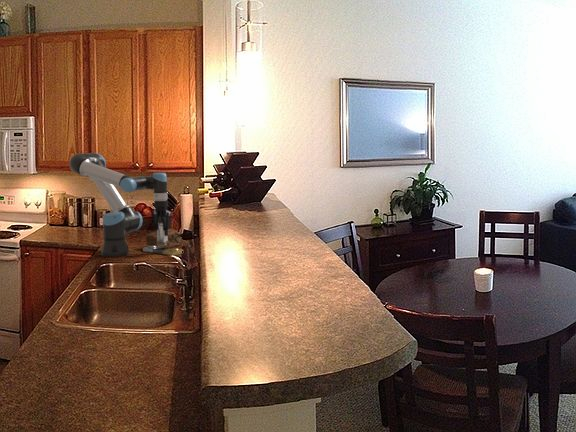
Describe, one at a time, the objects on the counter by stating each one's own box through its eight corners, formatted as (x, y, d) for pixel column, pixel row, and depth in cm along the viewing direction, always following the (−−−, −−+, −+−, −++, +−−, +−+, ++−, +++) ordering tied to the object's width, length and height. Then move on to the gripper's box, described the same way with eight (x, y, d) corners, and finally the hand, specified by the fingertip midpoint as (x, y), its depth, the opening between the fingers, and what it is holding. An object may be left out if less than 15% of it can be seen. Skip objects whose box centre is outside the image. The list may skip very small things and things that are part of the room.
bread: (170, 243, 340) (169, 227, 339) (181, 245, 333) (181, 229, 332) (145, 248, 326) (145, 231, 324) (157, 250, 319) (156, 233, 318)
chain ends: (143, 251, 315) (142, 246, 314) (153, 249, 321) (153, 244, 321) (173, 255, 302) (173, 250, 301) (183, 253, 308) (183, 248, 308)
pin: (156, 244, 310) (155, 223, 309) (162, 243, 314) (161, 222, 312) (162, 245, 308) (161, 224, 306) (168, 243, 312) (167, 223, 310)
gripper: (145, 200, 309) (147, 240, 312) (166, 201, 300) (168, 243, 303) (155, 198, 315) (156, 238, 318) (176, 200, 306) (178, 241, 309)
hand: (162, 240), depth 311 cm, fingers closed on pin, 4 cm apart
